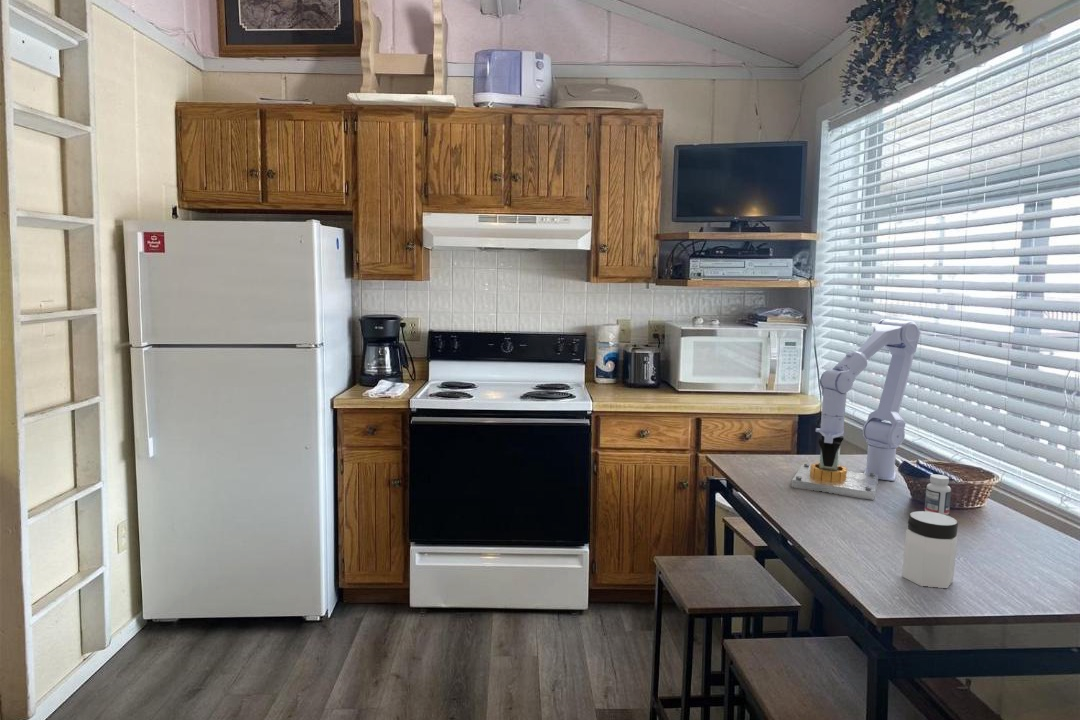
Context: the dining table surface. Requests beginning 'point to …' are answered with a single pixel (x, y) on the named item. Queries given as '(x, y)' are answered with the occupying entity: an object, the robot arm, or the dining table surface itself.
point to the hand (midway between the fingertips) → (829, 464)
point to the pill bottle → (938, 495)
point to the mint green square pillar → (835, 464)
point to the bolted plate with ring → (836, 481)
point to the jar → (930, 549)
